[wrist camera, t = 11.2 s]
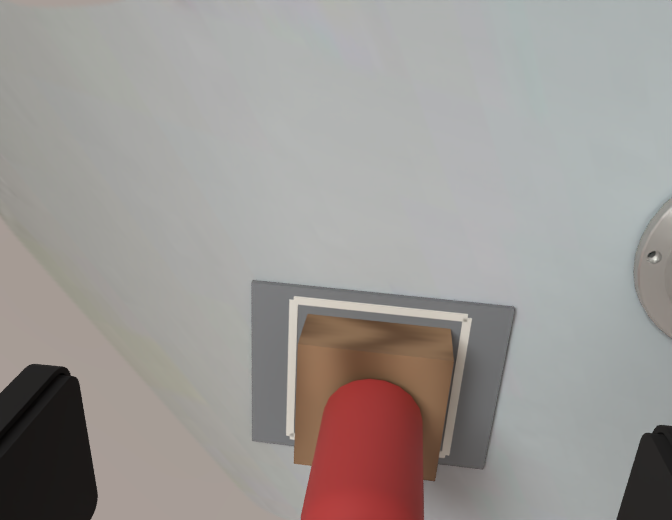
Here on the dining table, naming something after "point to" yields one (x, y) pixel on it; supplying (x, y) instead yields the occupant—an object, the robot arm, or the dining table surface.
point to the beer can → (367, 456)
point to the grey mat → (461, 317)
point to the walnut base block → (372, 373)
